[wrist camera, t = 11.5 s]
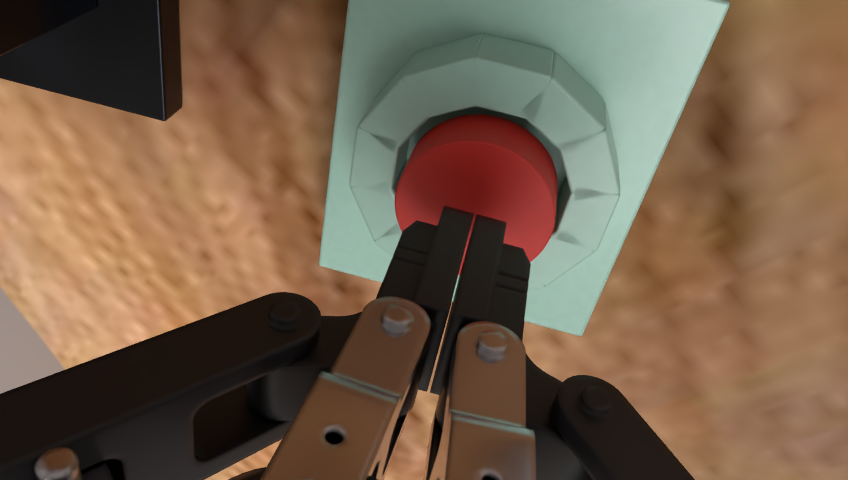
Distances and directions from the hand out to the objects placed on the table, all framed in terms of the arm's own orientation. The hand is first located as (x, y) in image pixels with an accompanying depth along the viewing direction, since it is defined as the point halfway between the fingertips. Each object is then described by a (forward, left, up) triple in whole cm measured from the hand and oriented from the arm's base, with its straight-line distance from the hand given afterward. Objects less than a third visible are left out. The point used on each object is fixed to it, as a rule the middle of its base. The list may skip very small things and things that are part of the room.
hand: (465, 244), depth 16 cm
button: (0, 0, -3) cm, 3 cm away
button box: (0, 0, -7) cm, 7 cm away
